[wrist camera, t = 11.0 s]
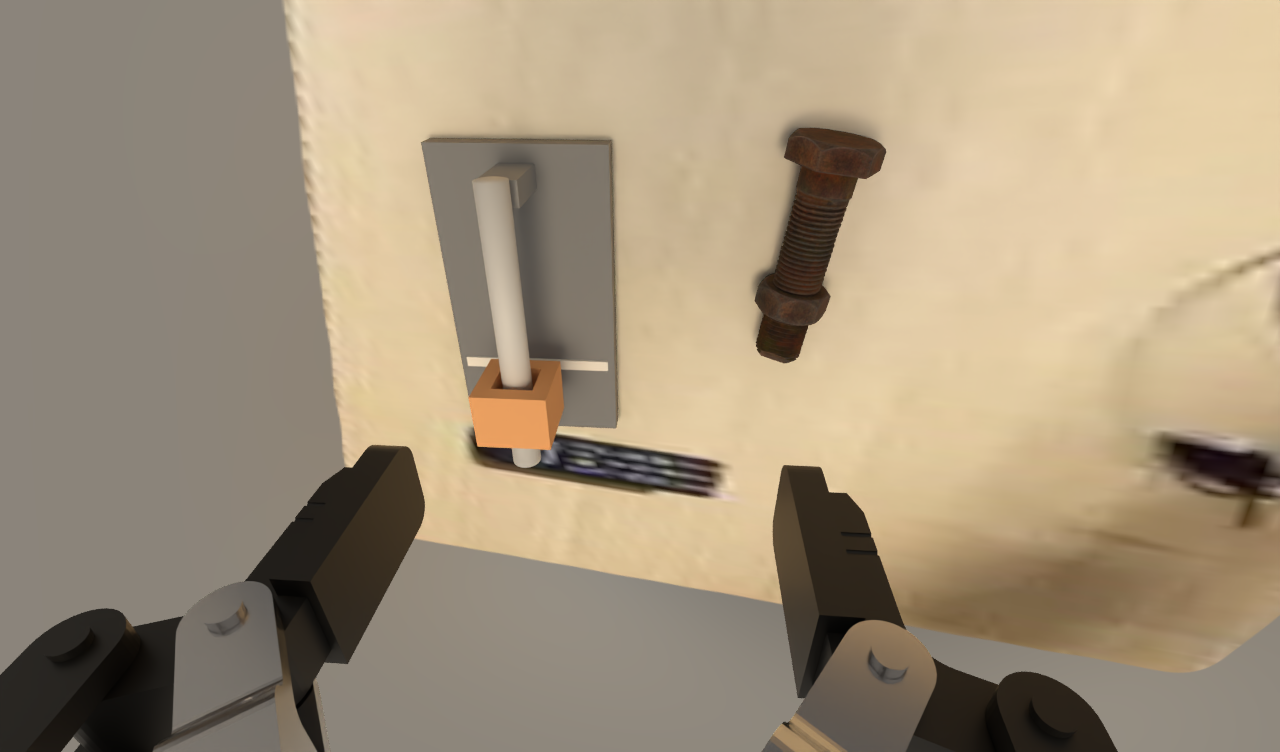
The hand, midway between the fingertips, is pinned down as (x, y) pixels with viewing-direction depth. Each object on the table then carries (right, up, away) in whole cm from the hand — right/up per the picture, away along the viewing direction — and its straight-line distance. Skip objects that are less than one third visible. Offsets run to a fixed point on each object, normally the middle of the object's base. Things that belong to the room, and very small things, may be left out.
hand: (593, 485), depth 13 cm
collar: (-7, +2, +30) cm, 31 cm away
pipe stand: (-7, +8, +31) cm, 33 cm away
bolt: (+12, +12, +28) cm, 32 cm away
